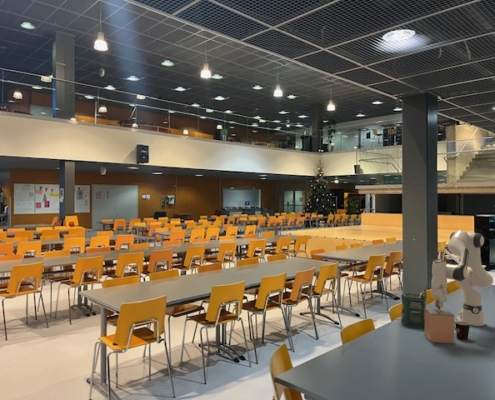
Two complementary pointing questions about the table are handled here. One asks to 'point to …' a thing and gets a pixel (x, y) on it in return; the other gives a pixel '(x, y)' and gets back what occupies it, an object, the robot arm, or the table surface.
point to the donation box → (414, 309)
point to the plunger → (438, 305)
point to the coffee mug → (462, 330)
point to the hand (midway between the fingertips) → (439, 305)
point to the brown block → (439, 325)
